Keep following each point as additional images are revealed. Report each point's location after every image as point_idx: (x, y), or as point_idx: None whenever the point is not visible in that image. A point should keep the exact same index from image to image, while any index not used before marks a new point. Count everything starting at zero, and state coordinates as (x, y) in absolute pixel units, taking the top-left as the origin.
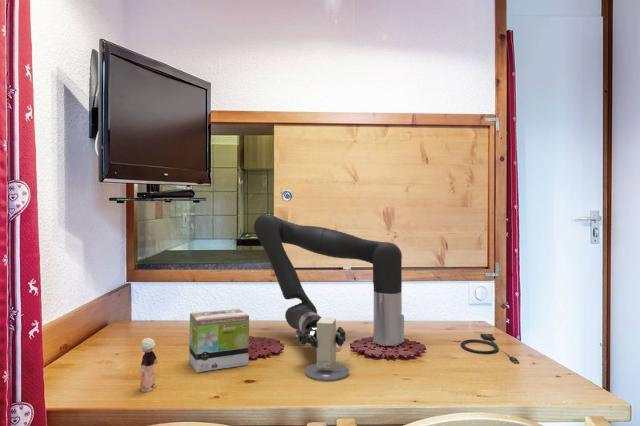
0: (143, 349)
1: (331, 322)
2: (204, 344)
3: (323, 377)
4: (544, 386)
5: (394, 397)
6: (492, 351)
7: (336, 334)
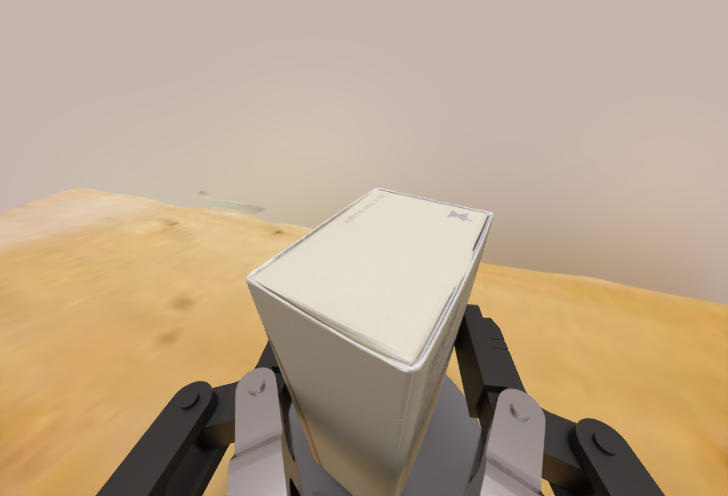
0: None
1: (367, 202)
2: None
3: None
4: (52, 221)
5: None
6: None
7: (276, 381)
